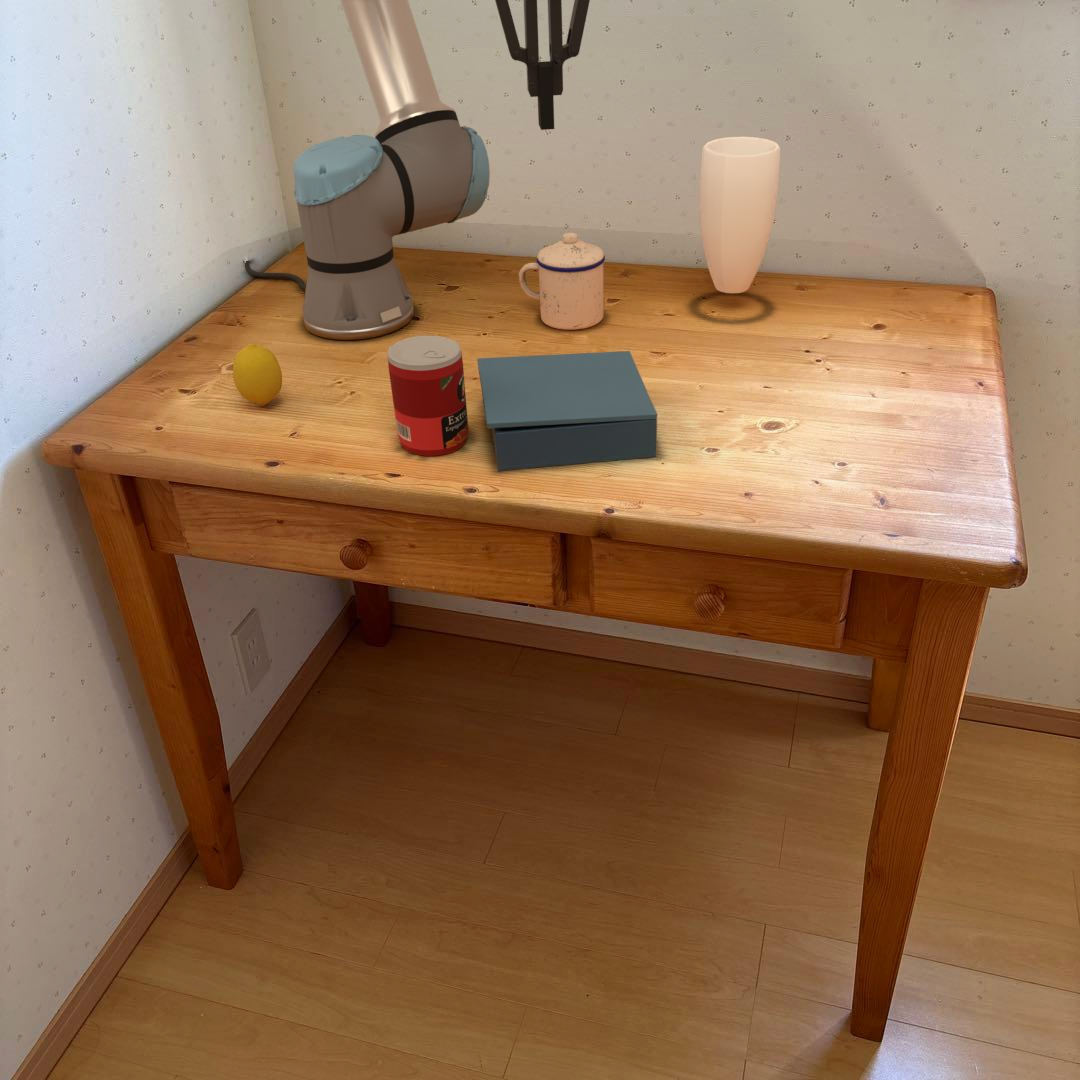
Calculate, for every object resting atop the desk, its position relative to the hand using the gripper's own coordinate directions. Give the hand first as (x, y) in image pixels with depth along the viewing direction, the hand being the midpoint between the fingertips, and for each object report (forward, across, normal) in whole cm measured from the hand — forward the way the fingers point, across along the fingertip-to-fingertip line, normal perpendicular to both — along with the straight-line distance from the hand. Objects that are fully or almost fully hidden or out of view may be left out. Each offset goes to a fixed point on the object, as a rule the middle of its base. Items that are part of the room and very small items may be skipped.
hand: (546, 126), depth 118 cm
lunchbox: (+28, -1, -19) cm, 34 cm away
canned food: (+28, -16, -19) cm, 38 cm away
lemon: (+29, -36, -7) cm, 46 cm away
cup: (+28, +26, +12) cm, 40 cm away
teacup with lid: (+29, +3, +13) cm, 31 cm away
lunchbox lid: (+23, -1, -19) cm, 30 cm away
